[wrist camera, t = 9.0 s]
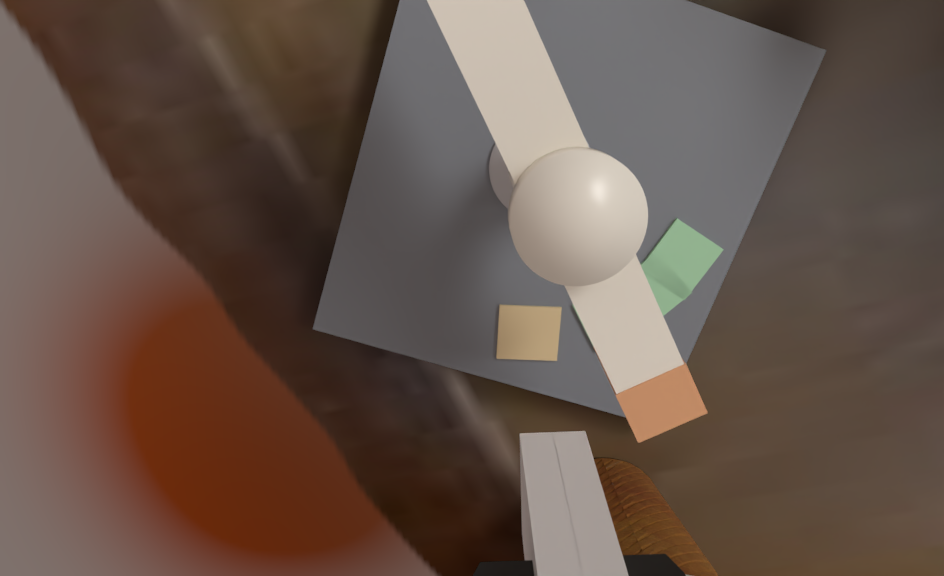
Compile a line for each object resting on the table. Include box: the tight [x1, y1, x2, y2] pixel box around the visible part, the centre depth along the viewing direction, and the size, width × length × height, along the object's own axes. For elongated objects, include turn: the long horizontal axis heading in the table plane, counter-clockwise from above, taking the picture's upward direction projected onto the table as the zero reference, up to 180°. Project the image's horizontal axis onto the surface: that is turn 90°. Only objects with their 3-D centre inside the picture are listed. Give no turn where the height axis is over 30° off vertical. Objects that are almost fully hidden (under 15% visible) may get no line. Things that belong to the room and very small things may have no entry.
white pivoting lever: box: [427, 0, 708, 443], centre depth 25 cm, size 16×4×10 cm, turn 27°
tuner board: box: [313, 0, 826, 417], centre depth 31 cm, size 18×17×1 cm
